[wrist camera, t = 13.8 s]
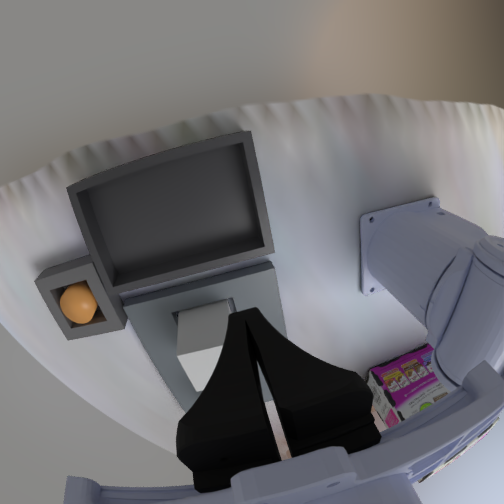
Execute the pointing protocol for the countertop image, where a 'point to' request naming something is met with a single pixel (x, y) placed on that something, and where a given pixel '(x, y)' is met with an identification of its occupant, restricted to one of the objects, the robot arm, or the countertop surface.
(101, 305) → the button housing
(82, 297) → the orange button
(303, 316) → the countertop surface
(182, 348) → the pale grey block
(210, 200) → the tote
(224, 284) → the grey slotted board
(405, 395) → the candy bar box
